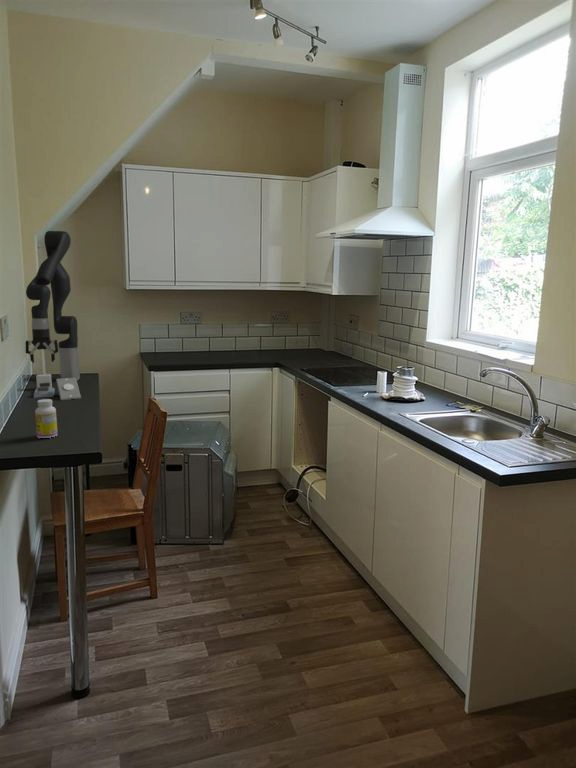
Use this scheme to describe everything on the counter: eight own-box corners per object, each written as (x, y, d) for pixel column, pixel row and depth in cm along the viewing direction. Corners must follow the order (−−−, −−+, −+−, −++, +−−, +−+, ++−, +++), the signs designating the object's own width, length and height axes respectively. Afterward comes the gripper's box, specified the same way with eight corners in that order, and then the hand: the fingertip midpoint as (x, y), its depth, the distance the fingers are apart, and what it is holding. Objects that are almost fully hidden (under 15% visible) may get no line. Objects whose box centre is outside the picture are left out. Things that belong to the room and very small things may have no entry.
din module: (38, 388, 286) (37, 374, 285) (51, 388, 288) (50, 373, 287) (37, 390, 282) (36, 375, 280) (51, 390, 284) (50, 375, 282)
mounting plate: (36, 391, 280) (36, 388, 279) (54, 390, 282) (54, 387, 282) (33, 397, 267) (33, 394, 266) (53, 396, 269) (52, 393, 269)
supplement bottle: (36, 435, 206) (34, 399, 204) (57, 433, 209) (54, 397, 207) (37, 440, 200) (34, 403, 198) (58, 438, 203) (55, 401, 201)
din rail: (40, 388, 280) (39, 382, 279) (50, 387, 281) (49, 382, 281) (38, 394, 267) (37, 388, 267) (48, 393, 268) (48, 387, 268)
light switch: (60, 397, 260) (56, 377, 270) (60, 407, 264) (56, 387, 273) (81, 395, 264) (75, 375, 274) (80, 405, 267) (75, 385, 277)
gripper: (57, 327, 285) (59, 360, 288) (24, 327, 281) (27, 361, 284) (56, 328, 278) (58, 362, 281) (23, 328, 274) (25, 363, 277)
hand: (42, 362), depth 282 cm, fingers open, 8 cm apart
